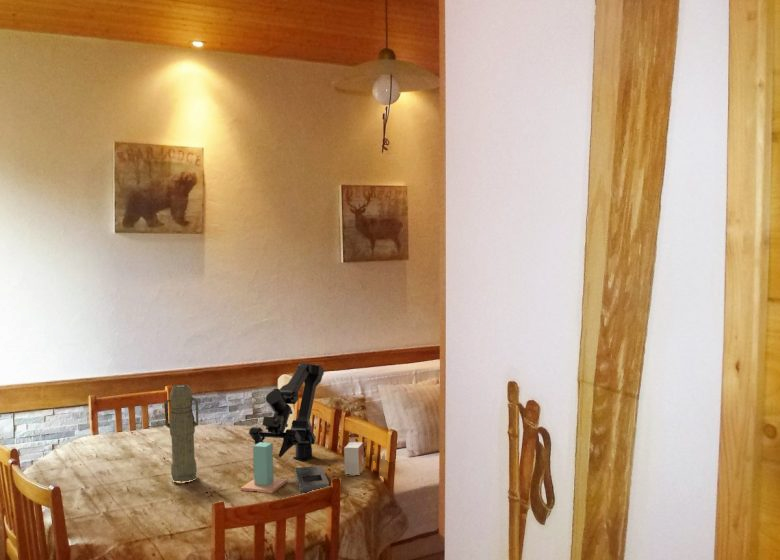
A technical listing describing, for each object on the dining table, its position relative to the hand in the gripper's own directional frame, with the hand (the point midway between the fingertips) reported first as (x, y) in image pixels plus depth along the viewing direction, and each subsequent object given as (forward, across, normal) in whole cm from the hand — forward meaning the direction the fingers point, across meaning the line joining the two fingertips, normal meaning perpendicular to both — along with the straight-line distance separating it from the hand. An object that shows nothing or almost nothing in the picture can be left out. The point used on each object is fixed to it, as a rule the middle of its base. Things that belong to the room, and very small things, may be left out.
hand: (267, 456), depth 253 cm
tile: (+9, 0, +4) cm, 10 cm away
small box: (-6, +26, +20) cm, 33 cm away
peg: (+9, 0, +4) cm, 9 cm away
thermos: (+10, -33, +4) cm, 34 cm away
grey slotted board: (+4, +15, +10) cm, 18 cm away
